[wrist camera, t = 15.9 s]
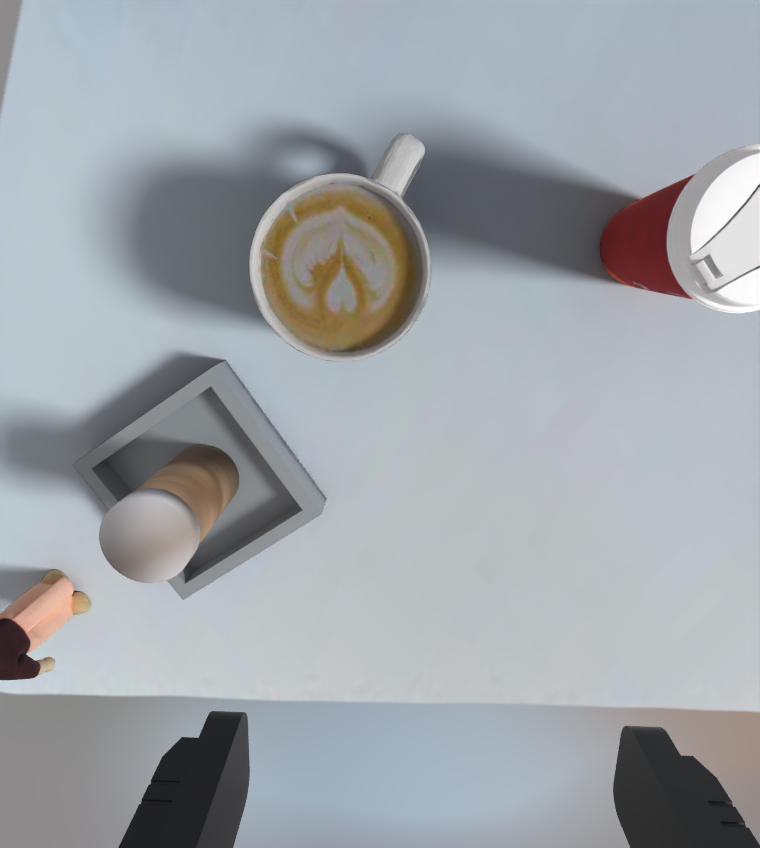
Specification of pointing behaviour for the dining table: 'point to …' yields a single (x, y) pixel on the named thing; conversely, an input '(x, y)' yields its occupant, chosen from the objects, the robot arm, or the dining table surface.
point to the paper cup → (695, 236)
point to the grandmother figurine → (36, 624)
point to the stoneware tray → (238, 437)
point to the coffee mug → (344, 260)
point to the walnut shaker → (169, 515)
